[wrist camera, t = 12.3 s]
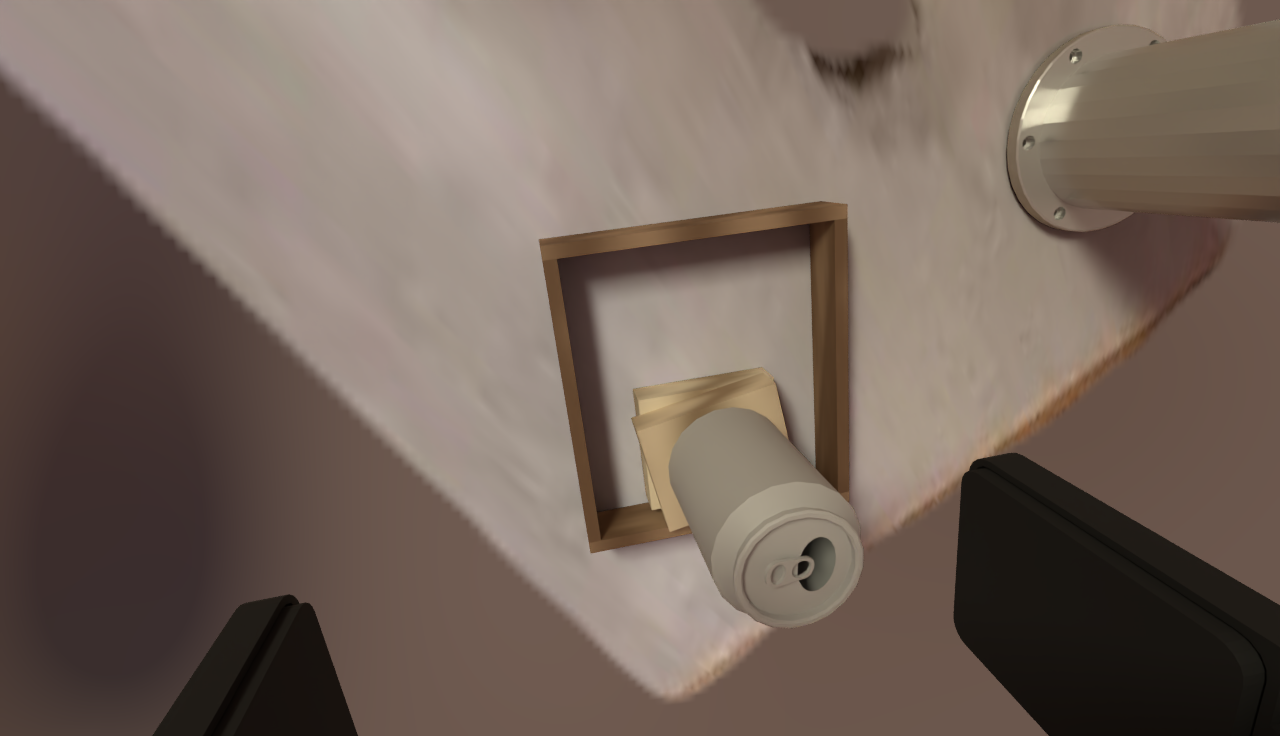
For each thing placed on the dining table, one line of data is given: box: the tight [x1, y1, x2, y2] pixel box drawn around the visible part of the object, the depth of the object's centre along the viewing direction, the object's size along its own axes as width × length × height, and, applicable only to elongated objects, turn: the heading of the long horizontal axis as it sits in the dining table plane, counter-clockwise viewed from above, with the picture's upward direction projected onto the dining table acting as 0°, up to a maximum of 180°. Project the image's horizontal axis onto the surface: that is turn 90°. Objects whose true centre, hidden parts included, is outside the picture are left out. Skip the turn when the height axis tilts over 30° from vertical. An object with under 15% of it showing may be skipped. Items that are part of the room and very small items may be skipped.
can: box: [668, 407, 864, 628], centre depth 33 cm, size 8×8×12 cm
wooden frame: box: [539, 201, 849, 553], centre depth 40 cm, size 18×20×4 cm
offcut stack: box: [631, 367, 789, 532], centre depth 41 cm, size 10×9×4 cm
